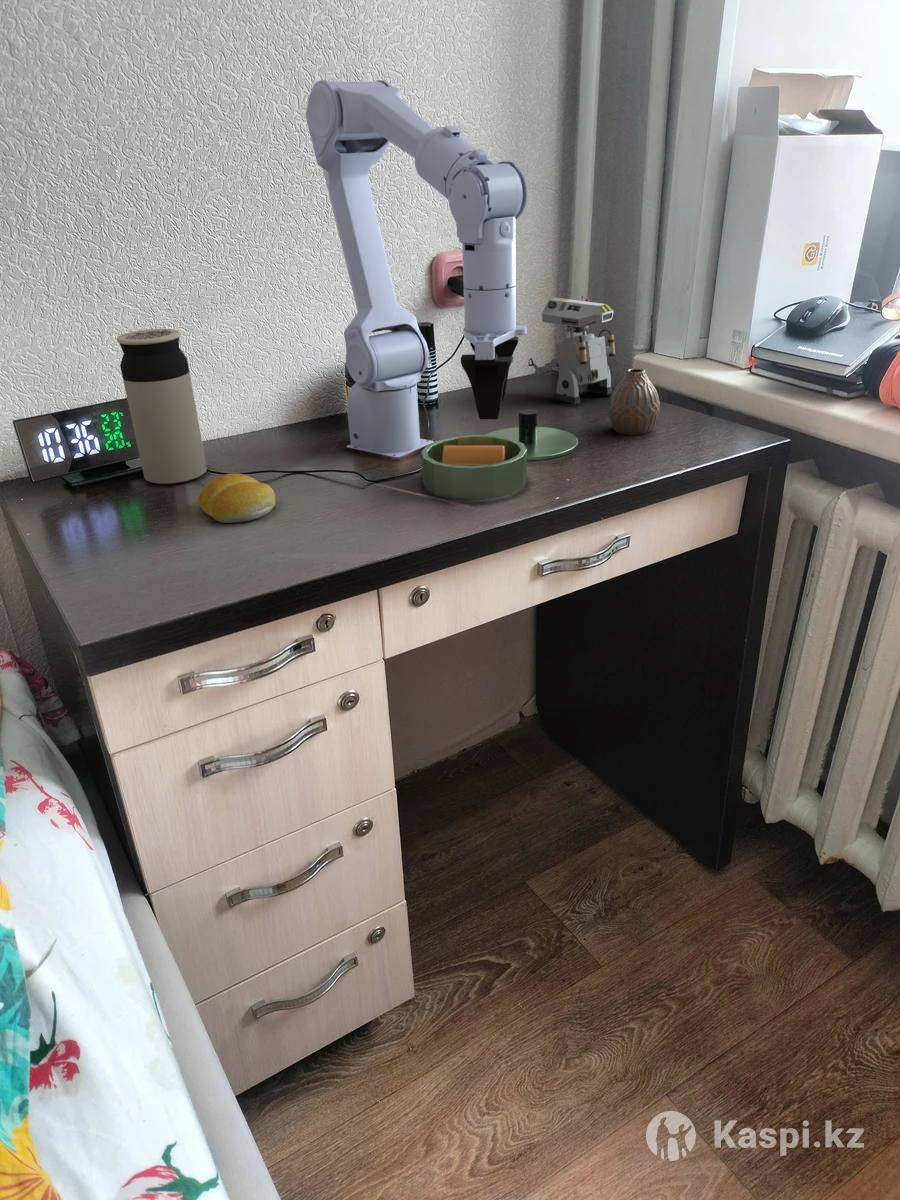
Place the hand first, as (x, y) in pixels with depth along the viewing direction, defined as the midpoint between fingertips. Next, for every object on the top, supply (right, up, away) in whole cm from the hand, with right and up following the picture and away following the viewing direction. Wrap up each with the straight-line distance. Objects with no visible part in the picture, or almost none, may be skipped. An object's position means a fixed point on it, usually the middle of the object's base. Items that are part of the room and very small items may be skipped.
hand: (492, 409), depth 101 cm
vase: (+21, +1, +20) cm, 29 cm away
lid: (+6, -1, +16) cm, 17 cm away
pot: (-2, -8, +5) cm, 10 cm away
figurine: (+15, +10, +39) cm, 43 cm away
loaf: (-2, -8, +4) cm, 9 cm away
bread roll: (-30, -12, +1) cm, 32 cm away
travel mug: (-41, -6, +13) cm, 43 cm away
